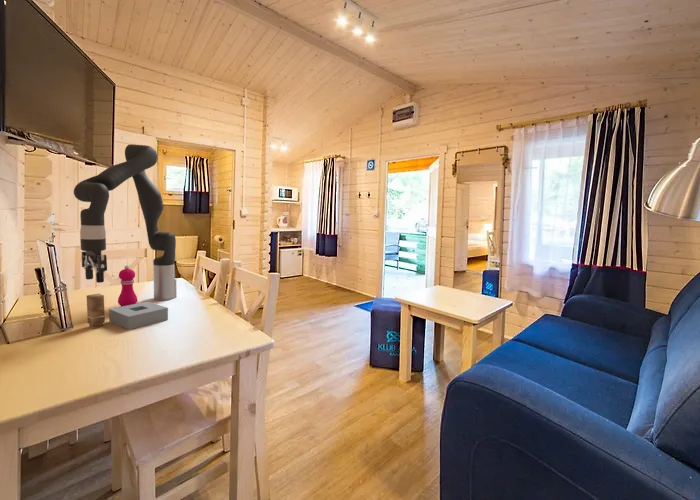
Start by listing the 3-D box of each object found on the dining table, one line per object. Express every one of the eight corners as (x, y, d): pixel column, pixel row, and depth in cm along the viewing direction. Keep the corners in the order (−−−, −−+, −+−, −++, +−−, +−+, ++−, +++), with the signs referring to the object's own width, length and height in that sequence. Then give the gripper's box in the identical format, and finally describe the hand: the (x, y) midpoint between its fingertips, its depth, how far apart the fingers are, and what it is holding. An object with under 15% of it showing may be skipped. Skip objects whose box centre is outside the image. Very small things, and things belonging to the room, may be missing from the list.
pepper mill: (122, 313, 146) (120, 267, 144) (115, 310, 150) (114, 265, 148) (140, 310, 152) (139, 265, 149) (133, 307, 156) (132, 263, 154)
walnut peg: (100, 323, 133) (98, 293, 132) (105, 326, 131) (104, 295, 130) (87, 326, 130) (86, 295, 128) (92, 328, 128) (91, 297, 126)
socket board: (148, 312, 149) (147, 301, 148) (167, 319, 141) (167, 307, 141) (109, 321, 136) (108, 309, 136) (129, 329, 129) (128, 316, 128)
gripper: (114, 238, 126) (115, 282, 128) (95, 235, 133) (97, 276, 135) (90, 239, 120) (91, 285, 121) (72, 236, 127) (74, 279, 129)
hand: (94, 280), depth 128 cm, fingers open, 8 cm apart
